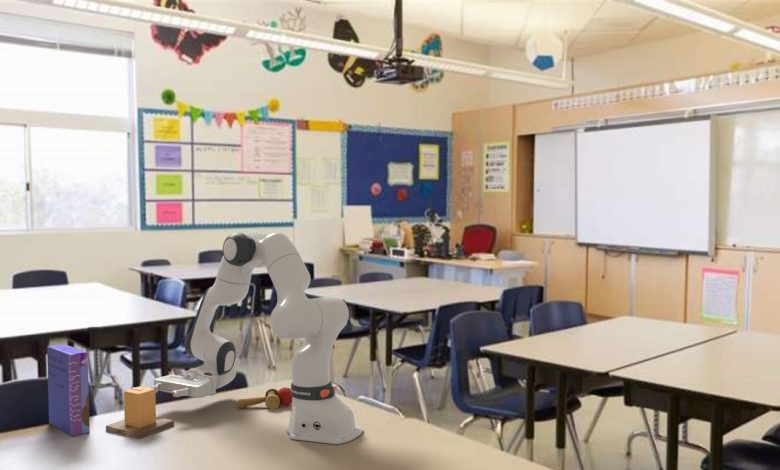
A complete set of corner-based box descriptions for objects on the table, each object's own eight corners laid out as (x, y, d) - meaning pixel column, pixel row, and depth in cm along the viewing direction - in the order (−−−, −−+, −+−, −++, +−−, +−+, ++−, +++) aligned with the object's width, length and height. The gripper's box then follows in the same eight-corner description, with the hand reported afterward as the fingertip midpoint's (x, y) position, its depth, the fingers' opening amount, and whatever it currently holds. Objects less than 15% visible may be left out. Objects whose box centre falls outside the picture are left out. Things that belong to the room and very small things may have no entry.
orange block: (155, 421, 197) (155, 387, 196) (139, 427, 191) (139, 393, 191) (141, 418, 200) (140, 385, 199) (124, 424, 194) (124, 390, 194)
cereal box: (89, 432, 192) (87, 351, 191) (72, 436, 188) (70, 354, 187) (65, 419, 203) (63, 343, 202) (49, 423, 200) (47, 345, 199)
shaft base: (173, 425, 198) (173, 399, 197) (139, 438, 186) (138, 411, 186) (141, 418, 204) (141, 392, 204) (105, 430, 193) (105, 404, 193)
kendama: (240, 416, 210) (296, 405, 214) (237, 397, 211) (292, 385, 215) (241, 413, 218) (294, 402, 222) (238, 394, 218) (291, 383, 222)
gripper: (173, 368, 220) (139, 378, 208) (219, 375, 210) (187, 386, 198) (173, 386, 220) (140, 397, 208) (219, 395, 211) (187, 407, 198)
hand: (163, 392), depth 203 cm, fingers open, 8 cm apart
